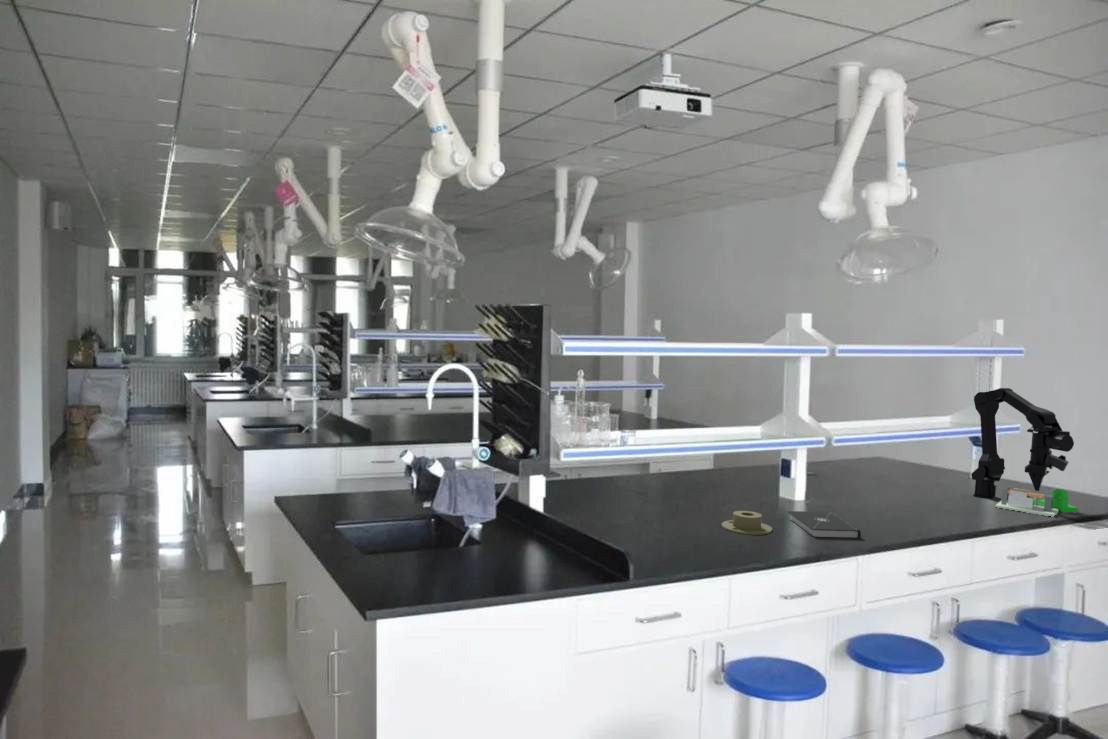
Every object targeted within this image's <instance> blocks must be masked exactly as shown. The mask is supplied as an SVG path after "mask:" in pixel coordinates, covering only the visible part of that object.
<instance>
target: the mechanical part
mask: <svg viewBox="0 0 1108 739" xmlns="http://www.w3.org/2000/svg"><path fill="white" fill-rule="evenodd" d="M1051 496H1053V507H1052V508H1057V509H1059V511H1060V512H1059V513H1061V512H1078V513H1079V507H1077V506H1073V505H1071V504H1069V499H1070V498H1069V494H1068V492H1067V490H1065V489H1064V488H1056V489H1054V490H1053V491H1052V494H1051ZM1037 502H1038V503H1037V504H1039V505H1038V506H1041V505H1042V506H1044V504H1045V499H1038V501H1037Z"/></svg>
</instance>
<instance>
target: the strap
mask: <svg viewBox="0 0 1108 739" xmlns="http://www.w3.org/2000/svg"><path fill="white" fill-rule="evenodd" d="M1011 490H1012V489H1010V490H1008V493H1010V494H1011ZM1013 490H1014V489H1013ZM1014 491H1015V490H1014ZM1020 492H1022V491H1020ZM1027 496H1031V497H1036V498H1040V499H1045V496H1046V494H1045V493H1044V494H1043V493H1036V492H1030V493H1029V492H1027Z"/></svg>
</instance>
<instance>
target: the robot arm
mask: <svg viewBox="0 0 1108 739" xmlns="http://www.w3.org/2000/svg"><path fill="white" fill-rule="evenodd" d="M973 402H974V408H975V410H976V411H977V413H978V414H979V417H980V431H981V433H980V434H981V449H982V450H981V452H982V453H981V456H980V458H979V460H978V461H977V462H978V463H977V464H978V465H977V468H976V469H975V470H974V471H972V472H971V474H970V475H971V479H972V480H974V482H975V483H974V484H975V485H974V494H973V496H974V497H978V498H984V499H990V498H991V500H993V499H994V498H996V496H997V489H998V485H997V484H996V483H997V482H1000V480H1001V478H1002V476H1003V475H1004V473H1005V470H1006V467H1005V458H1003V457H1000V455H999V454H998V446H997V445H998V444H997V442H998V440H997V427H996V426H997V425H996V424H997V423H996V414H997V413H998V411H999V409H1000V404H1001V403H1003V402H1005V403H1007V405H1009V406H1011V407H1012V408H1014V409H1015V410H1017V411H1018V412H1019V413H1021V414H1022V415H1024V417H1025V419H1026V421H1027V422H1028V423H1029V424H1030V425H1031V427H1030V428H1028V429H1026V432H1027V433H1031V447H1030V449H1029V453H1030V459H1029V460H1028V464H1027V465H1025V466H1024V473H1027V474H1028V475H1029V478H1030V481H1031V483H1032V485H1033V488H1034V490H1035V491H1036V492H1039V491H1040V489H1041V486H1042V483H1043V480H1044V478H1045V476H1047V475H1048V474H1049V473H1051V472H1050V470H1052V469H1053V468H1055V469H1057V470H1059V471H1062V472H1064V471H1065V470H1066V468H1067V466H1068V464H1069V463H1070V462H1069V461H1068V460H1067V456H1066V455H1063V454H1060V455H1059V456H1057V455H1054V454H1052V453H1053V451H1052V450H1056V451H1060V452H1066V453H1068V452H1071V451H1072V449H1073V448H1074V444H1075V442H1074V439H1073V436H1071V432H1070V431H1067V430H1064V431H1063V429H1062V427H1061V425H1060V423H1059V422H1058V420H1057V418H1056V417H1057V416H1056V414H1055V412H1053V411H1051V410H1049V409H1047V408H1043V407H1040V406H1037V405H1035V404H1034V403H1031V402H1030V401H1029V400H1027V399H1026V398H1023V397H1022V395H1019V394H1018V393H1017V392H1015V391H1014V390H1013V389H1012V388H1010V387H999V388H997V389H993V390H989V391H978V392H977V393H976V394H975V395H974V396H973ZM1048 469H1049V470H1048ZM992 498H993V499H992Z"/></svg>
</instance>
